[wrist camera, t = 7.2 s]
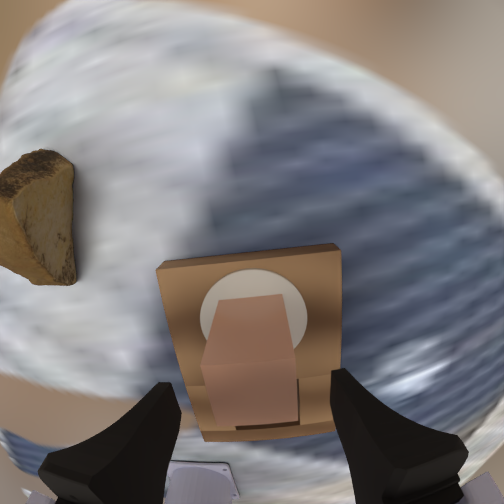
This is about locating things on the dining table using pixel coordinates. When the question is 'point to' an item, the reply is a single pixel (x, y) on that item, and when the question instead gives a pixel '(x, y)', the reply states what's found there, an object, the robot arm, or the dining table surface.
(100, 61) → the dining table surface
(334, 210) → the dining table surface
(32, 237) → the rock
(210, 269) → the walnut board
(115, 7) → the dining table surface
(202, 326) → the cream disc
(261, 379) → the terracotta block
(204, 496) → the robot arm
